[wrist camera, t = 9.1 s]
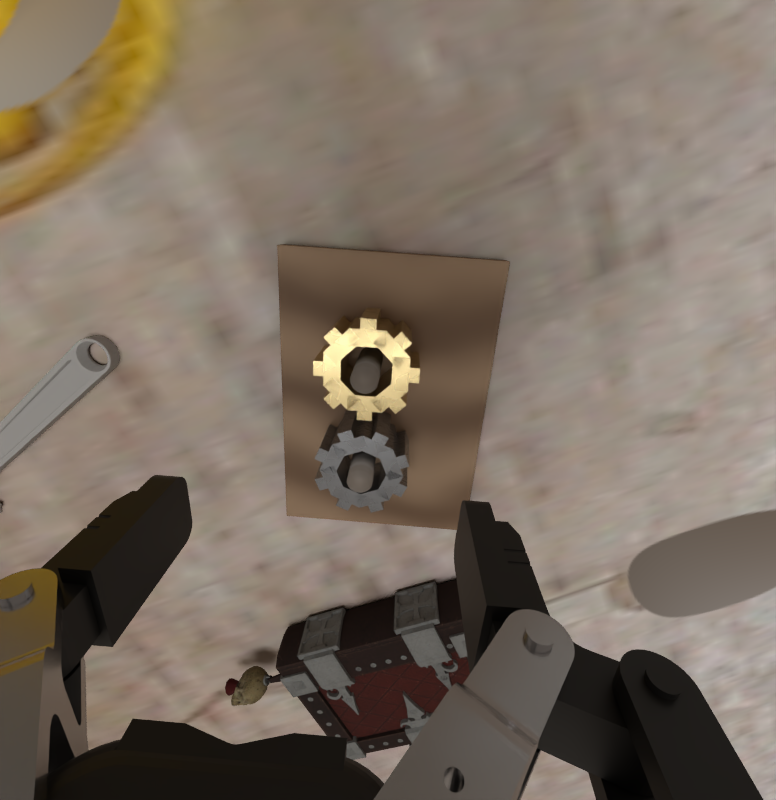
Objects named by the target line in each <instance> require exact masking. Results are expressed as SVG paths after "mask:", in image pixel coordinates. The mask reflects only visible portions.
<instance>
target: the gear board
mask: <svg viewBox="0 0 776 800" xmlns="http://www.w3.org/2000/svg"><path fill="white" fill-rule="evenodd" d="M277 248H278V277H279V306H280V335H281V364H282V393H283V422H284V451H285V480H286V509H287V516H297V517H309V518H321V519H333V520H345V521H357V522H369V523H381V524H393V525H405V526H417V527H429V528H441V529H453V530H457V527H458V521H459V514H460V508H461V503H462V501H463V500H466V501H469V500H470V494H471V488H472V482H473V476H474V471H475V465H476V459H477V453H478V447H479V441H480V435H481V429H482V423H483V418H484V412H485V406H486V400H487V394H488V388H489V382H490V376H491V370H492V365H493V359H494V353H495V347H496V341H497V335H498V329H499V323H500V317H501V311H502V306H503V300H504V294H505V288H506V282H507V276H508V270H509V264H510V262H509V261H506V260H495V259H481V258H467V257H453V256H439V255H425V254H411V253H397V252H383V251H369V250H355V249H341V248H328V247H314V246H300V245H286V244H283V245H277ZM366 308H378V309H381V311H380V318H385V319H390V320H391V321H392V323H393V324H394V325H395V326H396V325H397V324H398V323H399V322H400V321H401V320H403V321H404V322H405V323H406V324H407V325H408V327H409V328H410V329H411V330H412V344H411V352H419V361H420V376H419V383H408V392H407V405H406V406H405V407H404V408H402V409H401V410H400V411H398V412H397V413H396V414H395V413H394V412H393V411H392V410H391V409H390V408H389V407H388V408H387V409H386V410H384V412H386V413H388V414H390V415H391V420H390V423H391V424H393V425H395V427H396V430H397V432H400V431H404V430H405V431H406V433H407V436H408V439H409V467H407V488H406V490H405V492H404V493H403V495H402V496H401V497H399V496H397V495H395V494H392V496H391V498H390V499H389V500H388V501H384V510H380V511H376V512H372V513H371V512H370V509H369V507H368V506H364V507H360V508H359V507H357V506H355V505H351V506H350V508H349V510H348V511H347V510H345V509H343V508H340V507H338V506H336V503H337V499H338V498H336V497H334V496H331V494H330V491H329V489H324V490H319V488H318V486H317V484H316V482H315V477H316V474H317V472H318V469H319V466H320V464H321V462H320V461H318V460H316V459H315V456H316V454H317V452H318V449H319V447H320V444H321V442H322V440H323V437H324V435H325V433H326V431H327V429H328V426H329V424H331V425H333V426H335V427H338V425H339V423H340V421H342V419H343V417H344V414H345V411H348V410H347V409H346V408H345V407H344V406H343V405H342V404H339V405H338V406H337V407H336V408H335V409H333V408H332V407H331V406H330V405H329V404H328V403H327V402H326V401H325V400H324V399H323V398H324V396H325V394H326V392H327V389H326V388H325V387H324V386H323V376H313V360H314V359H315V358H316V356H317V355H318V354H319V352H320V351H321V350H322V348H323V347H324V346H328V345H329V343H328V342H327V341H326V340H325V339H324V338H323V337H324V336H325V335H326V334H327V332H328V331H329V330H330V329H331V327H332V326H333V325H334V324H335V323H336V322H337V321H338V320H339V319H340V318H342V317H343V316H345V317H346V318H347V320H348V321H349V322H351V321H352V320H354V319H355V318H356V317H361V316H362V315H363V313H364V311H365V309H366ZM348 363H349V364H350V365H351V366H352V367H353V368H354V369H353V371H352V374H351V377H350V383H351V386H352V387H353V389H354V390H355V391H357V392H359V393H362V394H368V393H371V392H373V391H374V390H375V389H376V388H377V386H378V382H379V378H380V377H381V376H382V375H383V374H384V373H386V372H387V371H388V370H389V369H390V368H392V366H393V364H392V362H391V361H390V360H389V359H388V358H387V357H386V356H385V355H384V354H383V353H382V351H381V350H380V349H379V348H374V347H360V346H356V347H355V348H354V349H353V350H352V351H350V352H349V359H348ZM377 413H378V412H373V415H374V416H376V415H377ZM348 456H349V458H350V460H352V461H351V465H350V469H349V473H348V477H347V485H348V487H349V488H350V489H351V490H353V491H355V492H358V493H363V492H366V491H368V490H369V489H370V488H371V486H372V482H373V475H374V468H375V464H376V463H379V462H381V460H380V459H379V458H377V457H374V456H372V455H370V454H368V453H366V452H363V451H361V452H357V453H354V454H350V455H348Z"/></svg>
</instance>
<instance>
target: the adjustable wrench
mask: <svg viewBox="0 0 776 800" xmlns="http://www.w3.org/2000/svg"><path fill="white" fill-rule="evenodd" d="M92 343H96V344H98V345H99V346H100V347H102V348H103V350H104V351H105V353H106V355H107V358H108V363H107V364H106V365H100V364H98V363H96V362H95V361H94V360H93V359H92V358H91V356H90V354H89V345H91V344H92ZM119 361H120V354H119V351H118V349H117V347H116V345H115V344H114V343H113V342H112V341H111V340H109V339H108V338H106V337H103V336H98V335H95V336H91V337H87V338H84V339H81V340H79V341H78V342H77V343H76V344H75V345H74V346H73V347H72V348H71V349H70V350H69V351H68V352H67V353H66V354H65V355H64V356H63V357H62V358H61V359H60V360H59V361H58V362H57V363H56V365H55V366H54V367H53V368H52V369H51V370H50V371H49V372H48V373H47V374H46V375H45V376H44V377H43V378H42V379H41V380H40V381H39V382H38V383H37V384H36V385H35V387H34V388H33V389H32V390H31V391H30V392H29V393H28V394H27V395H26V396H25V397H24V398H23V399H22V400H21V401H20V402H19V403H18V404H17V405H16V406H15V407H14V408H13V410H12V411H11V412H10V413H9V414H8V415H7V416H6V417H5V418H4V419H3V420H2V421H1V422H0V472H1V471H2V470H3V469H4V468H5V467H6V466H7V465H8V464H9V463H10V462H12V461H13V460H14V459H15V458H16V457H17V456H18V455H19V454H20V453H22V452H23V451H24V450H25V449H26V448H27V447H28V446H29V445H30V444H31V443H33V442H34V441H35V440H36V439H37V438H38V437H39V436H40V435H41V434H43V433H44V432H45V431H46V430H47V429H48V428H49V427H50V426H51V425H53V424H54V423H55V422H56V421H57V420H58V419H59V418H60V417H61V416H62V415H64V414H65V413H66V412H67V411H68V410H69V409H70V408H71V407H72V406H74V405H75V404H76V403H77V402H78V401H79V400H80V399H81V398H82V397H83V396H85V395H86V394H87V393H88V392H89V391H90V390H91V389H92V388H93V387H95V386H96V385H97V384H98V383H99V382H100V381H101V380H102V379H103V378H105V377H106V376H107V375H108V374H109V373H110V372H111V371H112V370H113V369H114V368H116V367H117V365H118V364H119ZM1 506H2V504H1V503H0V513H1V512H2V507H1Z"/></svg>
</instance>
